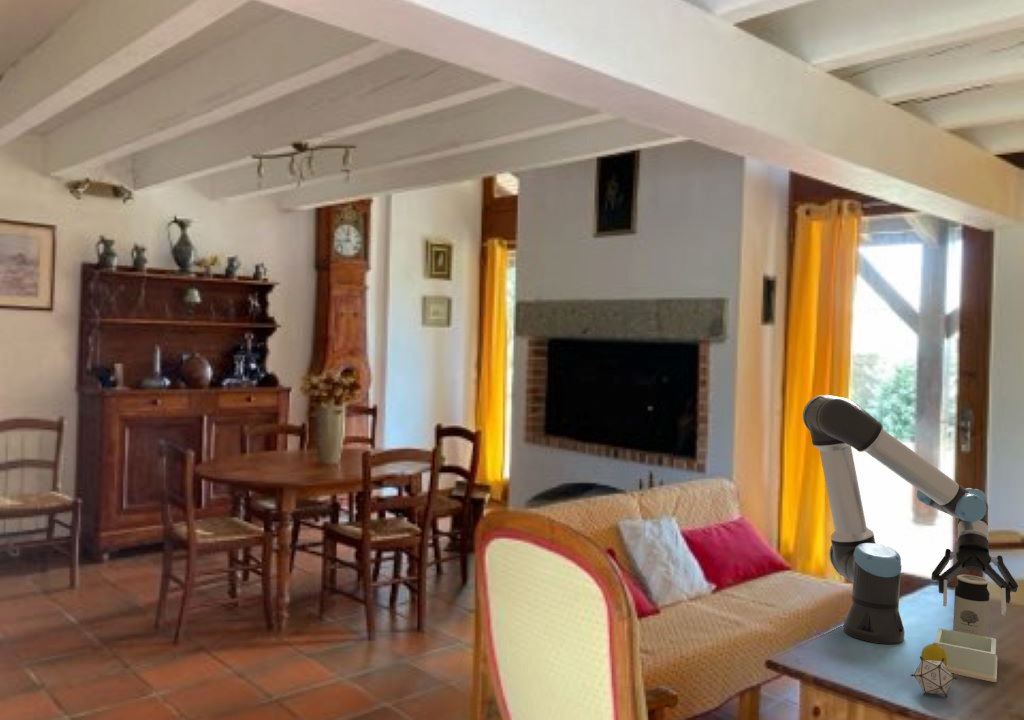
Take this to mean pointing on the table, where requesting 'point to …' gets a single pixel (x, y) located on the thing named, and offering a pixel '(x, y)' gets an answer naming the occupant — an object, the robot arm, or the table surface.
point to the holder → (969, 654)
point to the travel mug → (971, 605)
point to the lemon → (934, 653)
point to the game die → (934, 676)
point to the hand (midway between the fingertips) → (974, 608)
